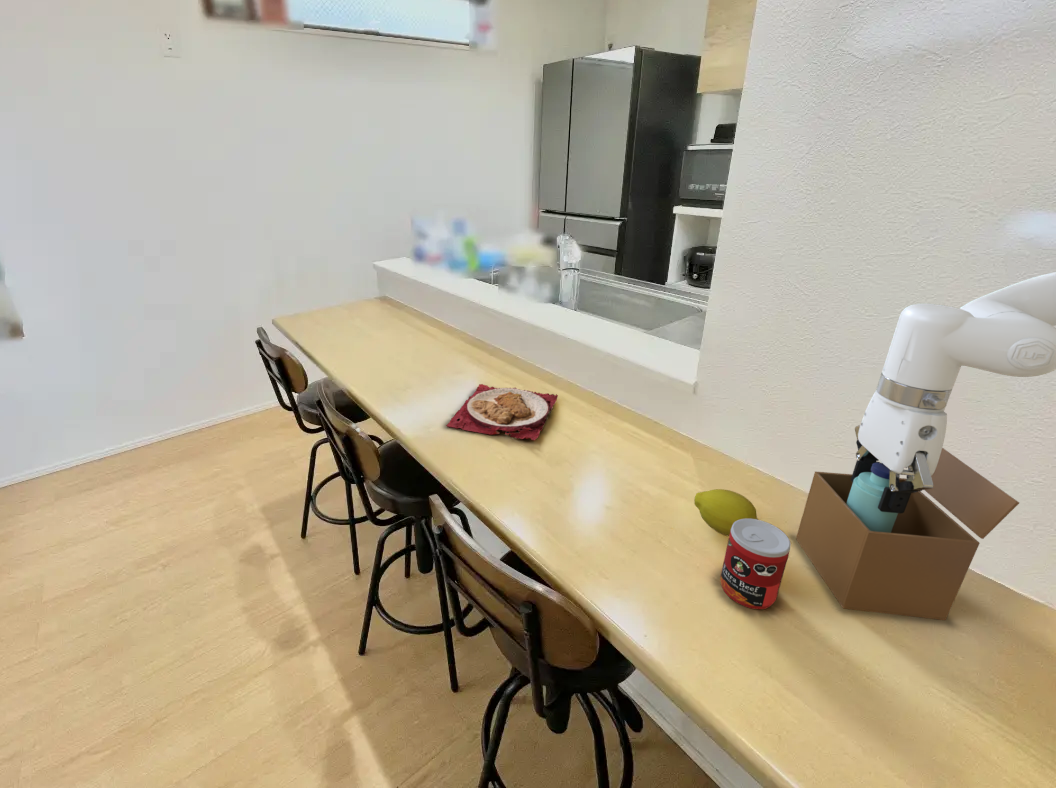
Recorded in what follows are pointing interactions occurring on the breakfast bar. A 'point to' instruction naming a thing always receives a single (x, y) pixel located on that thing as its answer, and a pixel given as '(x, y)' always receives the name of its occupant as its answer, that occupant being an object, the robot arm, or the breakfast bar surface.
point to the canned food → (754, 563)
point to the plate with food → (504, 412)
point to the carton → (885, 553)
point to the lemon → (723, 509)
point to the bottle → (871, 499)
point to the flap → (969, 495)
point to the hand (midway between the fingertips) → (875, 495)
